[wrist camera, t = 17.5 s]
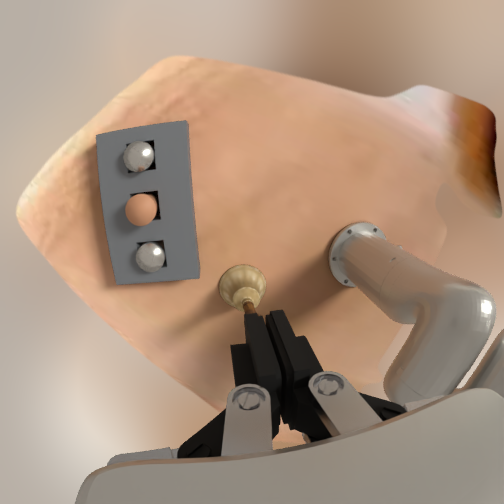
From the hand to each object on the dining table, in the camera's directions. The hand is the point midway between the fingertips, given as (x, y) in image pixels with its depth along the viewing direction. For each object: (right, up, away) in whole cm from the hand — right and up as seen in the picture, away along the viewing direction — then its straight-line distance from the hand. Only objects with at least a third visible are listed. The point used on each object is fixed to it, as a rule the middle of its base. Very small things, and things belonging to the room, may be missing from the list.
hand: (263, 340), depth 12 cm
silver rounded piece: (-16, +4, +33) cm, 37 cm away
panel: (-17, +12, +31) cm, 37 cm away
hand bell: (-2, -2, +38) cm, 38 cm away
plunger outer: (-17, +19, +28) cm, 38 cm away
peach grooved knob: (-16, +11, +29) cm, 35 cm away
